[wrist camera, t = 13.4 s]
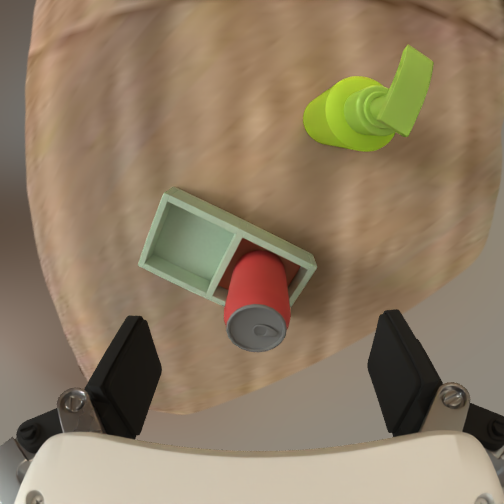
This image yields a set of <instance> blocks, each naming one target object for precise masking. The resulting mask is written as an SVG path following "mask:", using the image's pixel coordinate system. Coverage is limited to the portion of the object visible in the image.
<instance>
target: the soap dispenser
mask: <svg viewBox="0 0 504 504" xmlns="http://www.w3.org/2000/svg"><path fill="white" fill-rule="evenodd" d="M432 71H433V61H431V60H430V59H429V58H427V57H426V56H425V55H423V54H422V53H420V52H419V51H417V50H416V49H414V48H413V47H411V46H410V45H407V46H406V48H405V49H404V51H403V53H402V57H401V60H400V64H399V66H398V69H397V72H396V75H395V77H394V80H393V82H392V84H391V87H390V89H388V88H386V87H384V86H382V85H381V84H380V83H378V82H377V81H375V80H373V79H370V78H367V77H361V76H354V77H349V78H346V79H343V80H341V81H340V82H338V83H337V84H335V85H334V86H332V87H331V88H330V89H328V90H327V91H325V92H324V93H322V94H321V95H320V96H318V97H317V98H315V99H314V100H313V101H311V102H310V103H309V104H308V106H307V107H306V109H305V111H304V115H303V123H304V127H305V129H306V131H307V133H308V134H309V136H310V137H311V138H312V139H314V140H315V141H317V142H319V143H321V144H325V145H331V146H337V147H342V148H347V149H352V150H357V151H364V152H367V151H374V150H378V149H380V148H382V147H384V146H385V145H386V144H387V143H389V142H390V140H391V139H392V138H393V136H394V134H395V132H397V133H398V134H400V135H401V136H403V137H408V136H409V134H410V132H411V130H412V127H413V125H414V123H415V121H416V119H417V116H418V114H419V112H420V109H421V107H422V104H423V102H424V99H425V97H426V94H427V91H428V88H429V84H430V80H431V76H432Z"/></svg>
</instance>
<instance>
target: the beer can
mask: <svg viewBox="0 0 504 504" xmlns="http://www.w3.org/2000/svg"><path fill="white" fill-rule="evenodd" d="M290 317H291V312H290V304H289V295H288V287H287V279H286V272H285V267H284V265H283V263H282V261H281V260H280V259H279V258H278V257H277V256H276V255H274V254H272V253H270V252H267V251H261V250H257V251H251V252H248V253H246V254H244V255H243V256H242V257H241V258H240V259H239V260H238V261H237V262H236V264H235V266H234V269H233V273H232V278H231V282H230V286H229V291H228V295H227V299H226V304H225V308H224V322H225V325H226V331H227V334H228V337H229V339H230V340H231V341H232V342H233V344H235V345H236V346H238V347H239V348H241V349H244V350H246V351H250V352H264V351H268V350H271V349H273V348H275V347H276V346H278V345H279V344H280V343H281V342H282V341H283V339H284V338H285V336H286V331H287V329H288V326H289V322H290Z"/></svg>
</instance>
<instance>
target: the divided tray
mask: <svg viewBox="0 0 504 504" xmlns="http://www.w3.org/2000/svg"><path fill="white" fill-rule="evenodd" d="M257 250H261V251H267V252H270V253H272V254H274V255H276V256H277V257H278V258H279V259H280V260H281V261H282V263H283V265H284V267H285V272H286V279H287V287H288V295H289V304H290V308H291V306H292V305H293V303H294V302H295V300H296V299H297V297H298V296H299V294H300V293H301V291H302V290H303V288H304V287H305V285H306V284H307V282H308V281H309V279H310V278H311V276H312V275H313V273H314V272H315V270H316V269H317V265H316V262H315V259H314V256H313V254H311V253H309V252H307V251H305V250H303V249H301V248H299V247H297V246H295V245H293V244H291V243H289V242H287V241H285V240H283V239H281V238H279V237H277V236H275V235H273V234H271V233H269V232H267V231H265V230H263V229H261V228H259V227H257V226H255V225H253V224H251V223H249V222H247V221H245V220H243V219H241V218H239V217H237V216H235V215H233V214H231V213H229V212H226V211H224V210H222V209H220V208H218V207H216V206H214V205H212V204H210V203H208V202H206V201H204V200H202V199H199V198H197V197H195V196H193V195H191V194H189V193H187V192H185V191H183V190H180V189H178V188H176V187H172V188H171V189H169V190H168V191H166V192H164V194H163V196H162V199H161V201H160V204H159V207H158V209H157V212H156V215H155V217H154V220H153V223H152V225H151V228H150V231H149V234H148V236H147V239H146V242H145V245H144V248H143V251H142V254H141V257H140V260H139V263H138V266H140V267H142V268H144V269H146V270H148V271H150V272H152V273H154V274H156V275H158V276H160V277H162V278H164V279H166V280H168V281H170V282H172V283H174V284H176V285H178V286H181V287H183V288H185V289H187V290H189V291H191V292H193V293H195V294H197V295H200V296H202V297H204V298H206V299H208V300H211V301H213V302H215V303H217V304H219V305H222V306H224V307H225V304H226V299H227V295H228V291H229V286H230V282H231V278H232V273H233V269H234V266H235V264H236V262H237V261H238V260H239V259H240V258H241V257H242V256H243V255H244V254H246V253H248V252H251V251H257Z"/></svg>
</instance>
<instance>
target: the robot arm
mask: <svg viewBox="0 0 504 504" xmlns="http://www.w3.org/2000/svg"><path fill="white" fill-rule="evenodd" d="M368 371H369V374H370V377H371V380H372V383H373V385H374V389H375V392H376V395H377V398H378V401H379V404H380V407H381V411H382V414H383V417H384V420H385V423H386V426H387V430H388V432H389V433H392V434H393V437H392V438H388V439H382V440H377V441H371V442H365V443H358V444H352V445H344V446H338V447H328V448H318V449H306V450H289V451H228V450H211V449H199V448H188V447H180V446H172V445H165V444H159V443H152V442H146V441H140V440H135V438H136V435H140V433H141V430H142V427H143V424H144V421H145V418H146V415H147V413H148V410H149V407H150V404H151V401H152V398H153V395H154V392H155V390H156V387H157V384H158V381H159V378H160V376H161V372H162V367H161V363H160V361H159V358H158V355H157V352H156V349H155V345H154V342H153V339H152V336H151V333H150V329H149V326H148V323H147V321H146V320H144V319H143V318H142V317H141V316H128V317H127V318H126V319H125V321H124V323H123V324H122V326H121V327H120V329H119V331H118V332H117V334H116V336H115V337H114V339H113V341H112V342H111V344H110V346H109V347H108V349H107V350H106V352H105V354H104V356H103V357H102V359H101V361H100V362H99V364H98V366H97V368H96V369H95V371H94V373H93V375H92V376H91V378H90V380H89V382H88V384H87V385H86V387H85V389H81V388H71V389H68V390H66V391H64V392H63V393H62V394H61V395H60V397H59V398H58V401H57V408H56V409H54V410H51V411H49V412H47V413H44V414H42V415H40V416H37V417H35V418H32V419H30V420H27V421H25V422H24V423H22V424H21V425H20V426H19V428H18V430H17V434H16V435H17V438H16V439H14V438H13V437H12V438H11V439H9V440H8V441H6V442H5V443H4V444H3V445H1V446H0V503H1V504H504V416H502V415H499V414H497V413H494V412H491V411H489V410H487V409H484V408H482V407H479V406H477V405H474V404H472V403H470V395H469V392H468V391H467V389H466V388H465V387H463V386H462V385H460V384H458V383H454V382H451V383H445V384H443V383H442V381H441V379H440V377H439V375H438V373H437V372H436V370H435V368H434V366H433V364H432V362H431V361H430V359H429V357H428V355H427V354H426V352H425V350H424V348H423V347H422V345H421V343H420V342H419V340H418V339H416V338H415V336H414V334H413V332H412V331H411V329H410V327H409V326H408V324H407V322H406V321H405V319H404V318H403V316H402V314H401V313H400V311H399V310H397V309H396V310H386V311H384V313H383V314H381V315H380V316H379V320H378V324H377V328H376V333H375V337H374V341H373V345H372V349H371V352H370V356H369V359H368Z"/></svg>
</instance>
